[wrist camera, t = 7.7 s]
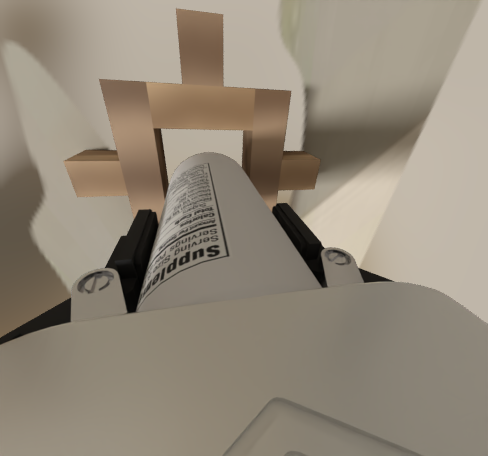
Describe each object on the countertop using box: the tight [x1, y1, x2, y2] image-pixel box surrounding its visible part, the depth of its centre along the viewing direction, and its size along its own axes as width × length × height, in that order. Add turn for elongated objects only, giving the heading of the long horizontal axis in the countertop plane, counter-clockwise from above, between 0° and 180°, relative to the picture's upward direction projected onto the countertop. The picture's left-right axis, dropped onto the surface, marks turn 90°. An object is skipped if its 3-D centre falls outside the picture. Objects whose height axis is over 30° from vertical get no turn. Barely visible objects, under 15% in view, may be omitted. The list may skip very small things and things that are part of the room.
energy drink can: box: [136, 152, 322, 312], centre depth 11 cm, size 6×6×15 cm
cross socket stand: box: [64, 9, 321, 224], centre depth 21 cm, size 22×22×4 cm
